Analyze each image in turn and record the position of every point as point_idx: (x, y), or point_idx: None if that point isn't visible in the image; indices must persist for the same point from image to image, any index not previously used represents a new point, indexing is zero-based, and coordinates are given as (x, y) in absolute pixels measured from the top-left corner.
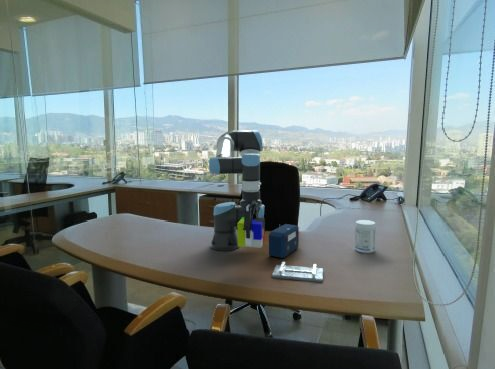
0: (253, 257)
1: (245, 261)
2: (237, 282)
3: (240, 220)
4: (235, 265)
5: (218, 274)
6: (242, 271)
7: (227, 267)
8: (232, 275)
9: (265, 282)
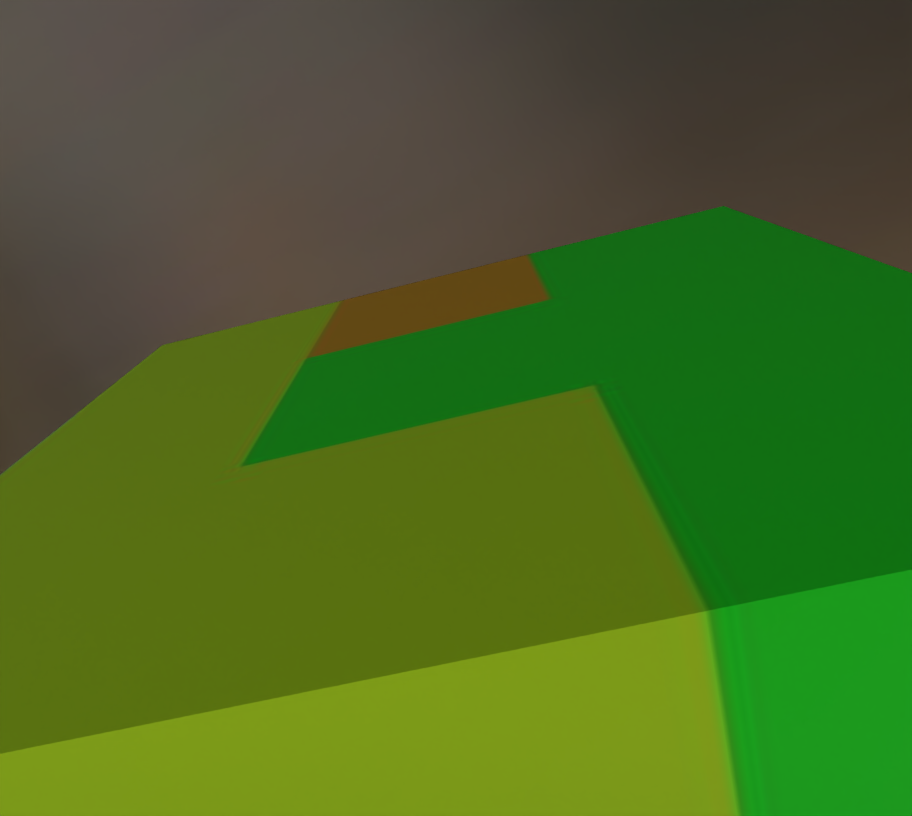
0: (876, 195)
1: (686, 154)
2: (30, 372)
3: (289, 743)
4: (488, 84)
5: (83, 11)
6: (339, 281)
7: (368, 3)
8: (163, 220)
9: None
